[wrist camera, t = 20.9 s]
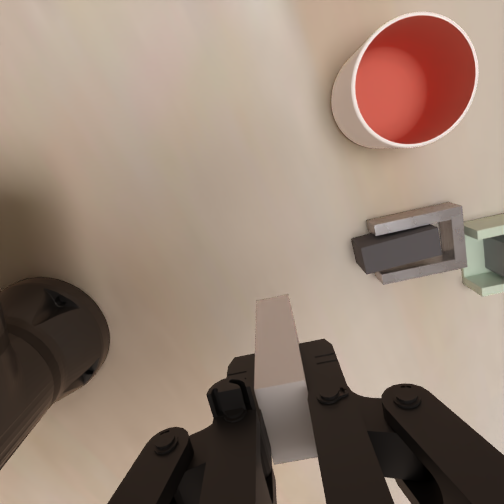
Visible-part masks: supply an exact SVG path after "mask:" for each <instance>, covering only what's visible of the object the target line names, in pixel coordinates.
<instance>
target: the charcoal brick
mask: <svg viewBox="0 0 504 504" xmlns="http://www.w3.org/2000/svg"><path fill="white" fill-rule="evenodd" d="M351 240H352V245H353V249H354V254H355V258H356V262H357V264H358V265H359V266H360V267H361V268H362V270H363V271H364V272H365V273H366V274H370V273H374V272H378V271H382V270H385V269H389V268H393V267H397V266H401V265H405V264H408V263H412V262H416V261H420V260H424V259H428V258H432V257H435V256H439V255H442V250H441V244H440V238H439V232H438V228H437V227H435V226H433V225H430V224H429V225H424V226H419V227H415V228H410V229H406V230H401V231H397V232H392V233H387V234H383V235H378V236H375V235H374V234H372V233H370V234H367V235H363V236H359V237H356V238H352V239H351Z"/></svg>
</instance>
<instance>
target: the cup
mask: <svg viewBox="0 0 504 504" xmlns="http://www.w3.org/2000/svg"><path fill="white" fill-rule="evenodd" d="M477 83H478V60H477V55H476V51H475V49H474V46H473V44H472V42H471V40H470V38H469V37H468V35H467V34H466V32H465V31H464V30H463V29H462V28H461V27H460V26H459V25H458V24H457V23H455V22H454V21H453V20H451V19H449V18H447V17H445V16H443V15H440V14H437V13H432V12H412V13H407V14H404V15H401V16H398V17H396V18H394V19H392V20H390V21H388V22H387V23H385V24H384V25H382V26H381V27H380V28H379V29H377V30H376V31H375V32H374V33H373V34H372V35H371V36H370V37H369V38H368V39H367V40H366V41H365V43H364V44H363V45H362V46H361V47H360V48H359V49H358V50H357V51H356V52H355V53H354V54H353V55H352V56H351V57H350V58H349V59H348V60H347V61H346V62H345V64H344V65H343V66H342V68H341V69H340V71H339V73H338V75H337V77H336V79H335V82H334V85H333V89H332V97H331V105H332V112H333V116H334V119H335V121H336V123H337V125H338V127H339V129H340V130H341V131H342V133H343V134H344V135H345V136H346V137H347V138H349V139H350V140H351V141H353V142H354V143H356V144H358V145H361V146H364V147H368V148H414V147H420V146H424V145H427V144H430V143H432V142H435V141H437V140H438V139H440V138H442V137H443V136H445V135H446V134H448V133H449V132H450V131H451V130H452V129H453V128H454V127H456V126H457V124H458V123H459V122H460V121H461V120H462V118H463V117H464V116H465V114H466V113H467V111H468V109H469V107H470V105H471V103H472V101H473V98H474V96H475V92H476V89H477Z"/></svg>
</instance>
